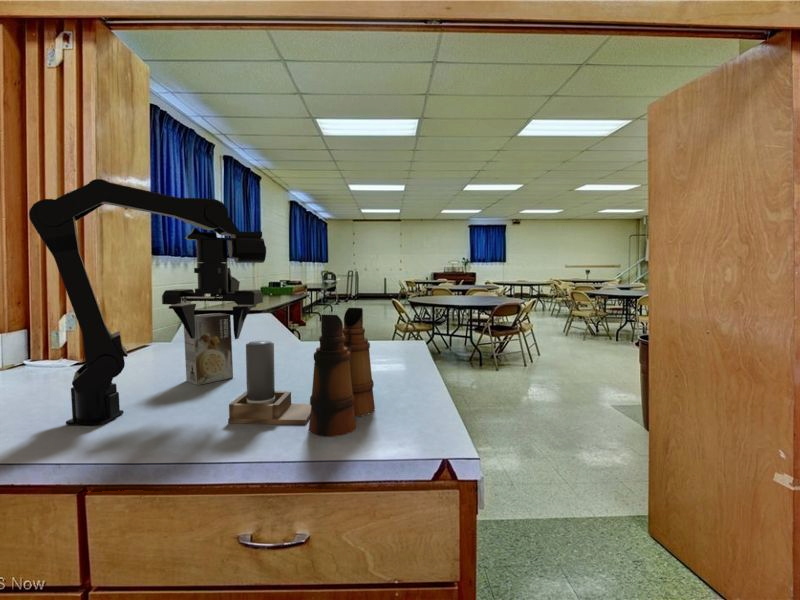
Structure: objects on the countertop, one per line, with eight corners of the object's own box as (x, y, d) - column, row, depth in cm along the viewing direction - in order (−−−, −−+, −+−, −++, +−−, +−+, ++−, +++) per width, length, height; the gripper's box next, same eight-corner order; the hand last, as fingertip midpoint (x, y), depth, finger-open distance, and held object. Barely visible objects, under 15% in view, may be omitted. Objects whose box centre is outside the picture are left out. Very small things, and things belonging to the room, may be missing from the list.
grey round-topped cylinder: (241, 412, 81) (239, 343, 80) (258, 404, 86) (256, 339, 85) (264, 415, 79) (263, 345, 78) (280, 406, 84) (279, 341, 83)
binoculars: (343, 401, 91) (342, 305, 90) (380, 404, 89) (380, 307, 87) (299, 433, 74) (297, 315, 72) (344, 439, 71) (343, 317, 70)
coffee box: (221, 373, 113) (220, 312, 112) (233, 378, 109) (232, 314, 108) (185, 380, 106) (182, 315, 105) (196, 385, 102) (193, 317, 101)
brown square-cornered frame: (228, 423, 78) (227, 405, 78) (247, 406, 87) (246, 390, 87) (305, 424, 78) (305, 406, 78) (316, 407, 87) (316, 391, 87)
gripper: (270, 263, 97) (272, 332, 98) (187, 262, 97) (190, 332, 99) (252, 263, 86) (254, 341, 87) (158, 262, 86) (162, 340, 88)
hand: (214, 338), depth 90 cm, fingers open, 9 cm apart
